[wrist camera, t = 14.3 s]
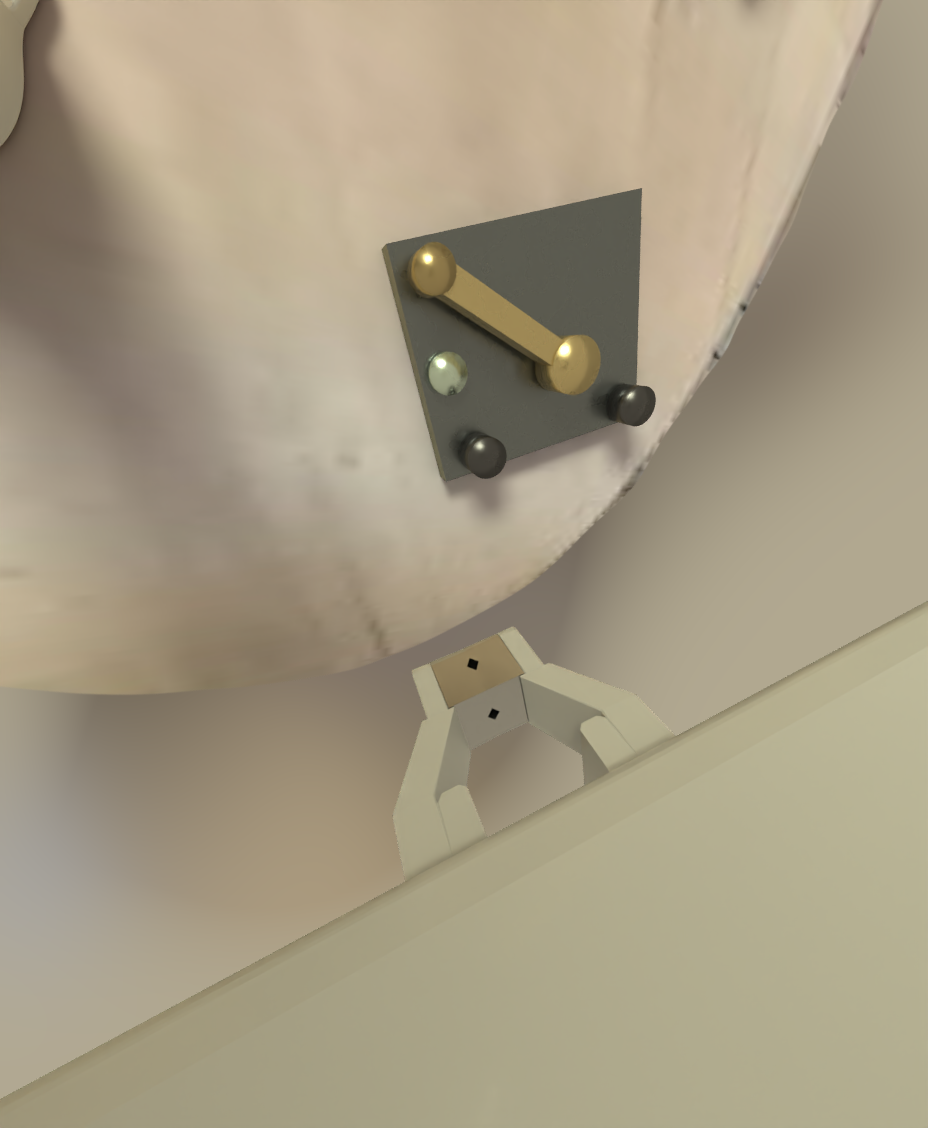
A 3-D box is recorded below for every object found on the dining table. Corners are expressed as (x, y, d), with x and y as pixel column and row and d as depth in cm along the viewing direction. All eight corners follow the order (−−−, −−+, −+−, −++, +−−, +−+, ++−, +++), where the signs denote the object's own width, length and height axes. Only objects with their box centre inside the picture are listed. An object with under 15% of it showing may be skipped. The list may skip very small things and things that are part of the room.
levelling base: (381, 249, 32) (393, 235, 28) (626, 195, 37) (667, 176, 33) (440, 476, 43) (455, 490, 39) (623, 413, 47) (654, 420, 43)
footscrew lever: (586, 351, 40) (609, 351, 37) (562, 399, 41) (582, 403, 38) (418, 229, 31) (430, 216, 28) (394, 297, 32) (404, 292, 29)
